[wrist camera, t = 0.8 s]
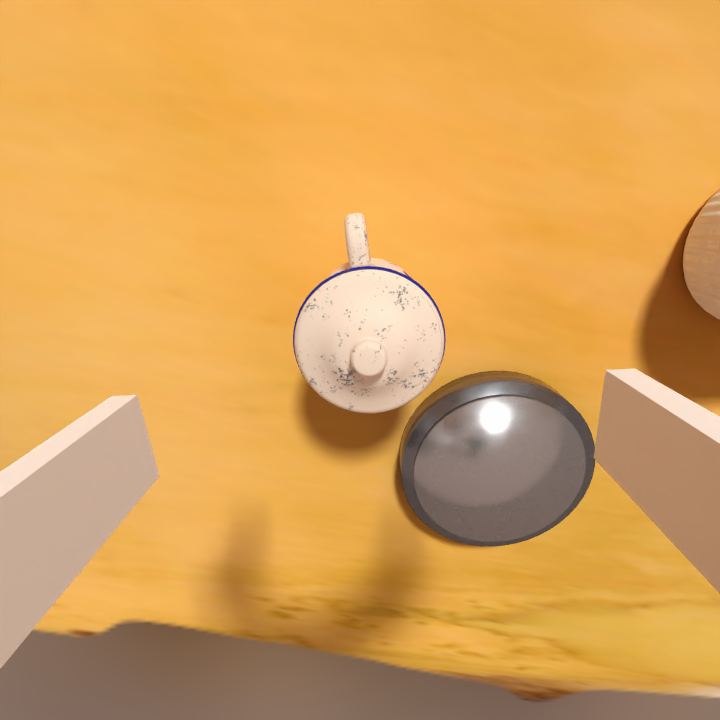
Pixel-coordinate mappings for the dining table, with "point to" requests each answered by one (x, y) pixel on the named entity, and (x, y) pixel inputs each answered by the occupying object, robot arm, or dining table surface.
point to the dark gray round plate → (495, 459)
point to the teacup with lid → (368, 332)
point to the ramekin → (704, 257)
